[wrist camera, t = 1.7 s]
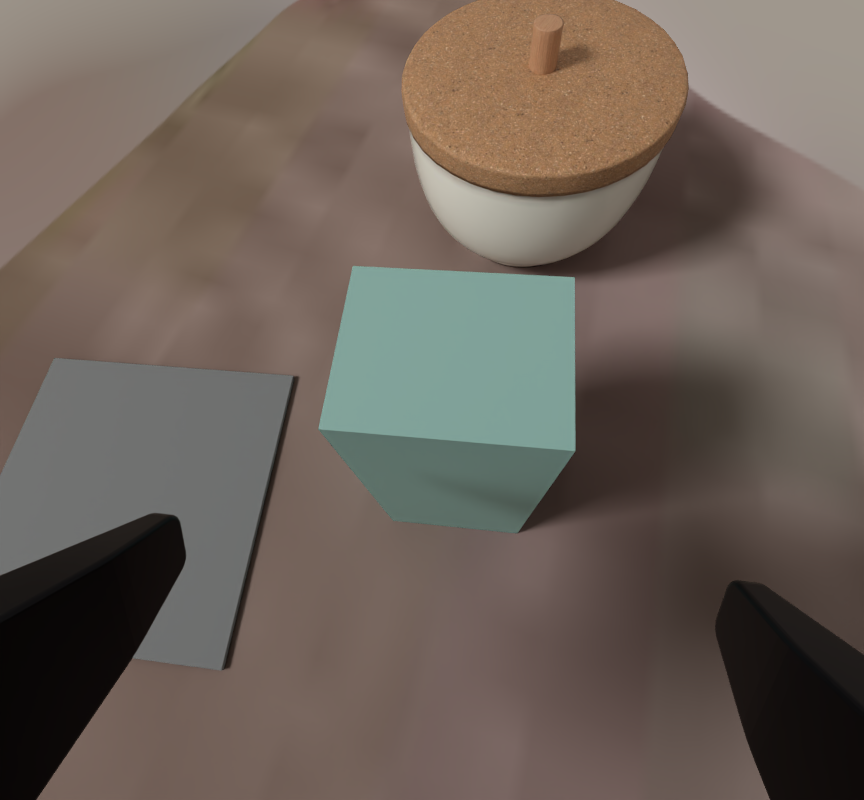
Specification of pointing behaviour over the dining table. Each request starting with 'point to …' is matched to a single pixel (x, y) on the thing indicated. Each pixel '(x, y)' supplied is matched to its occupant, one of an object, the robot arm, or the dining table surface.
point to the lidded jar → (539, 121)
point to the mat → (150, 481)
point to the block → (454, 392)
